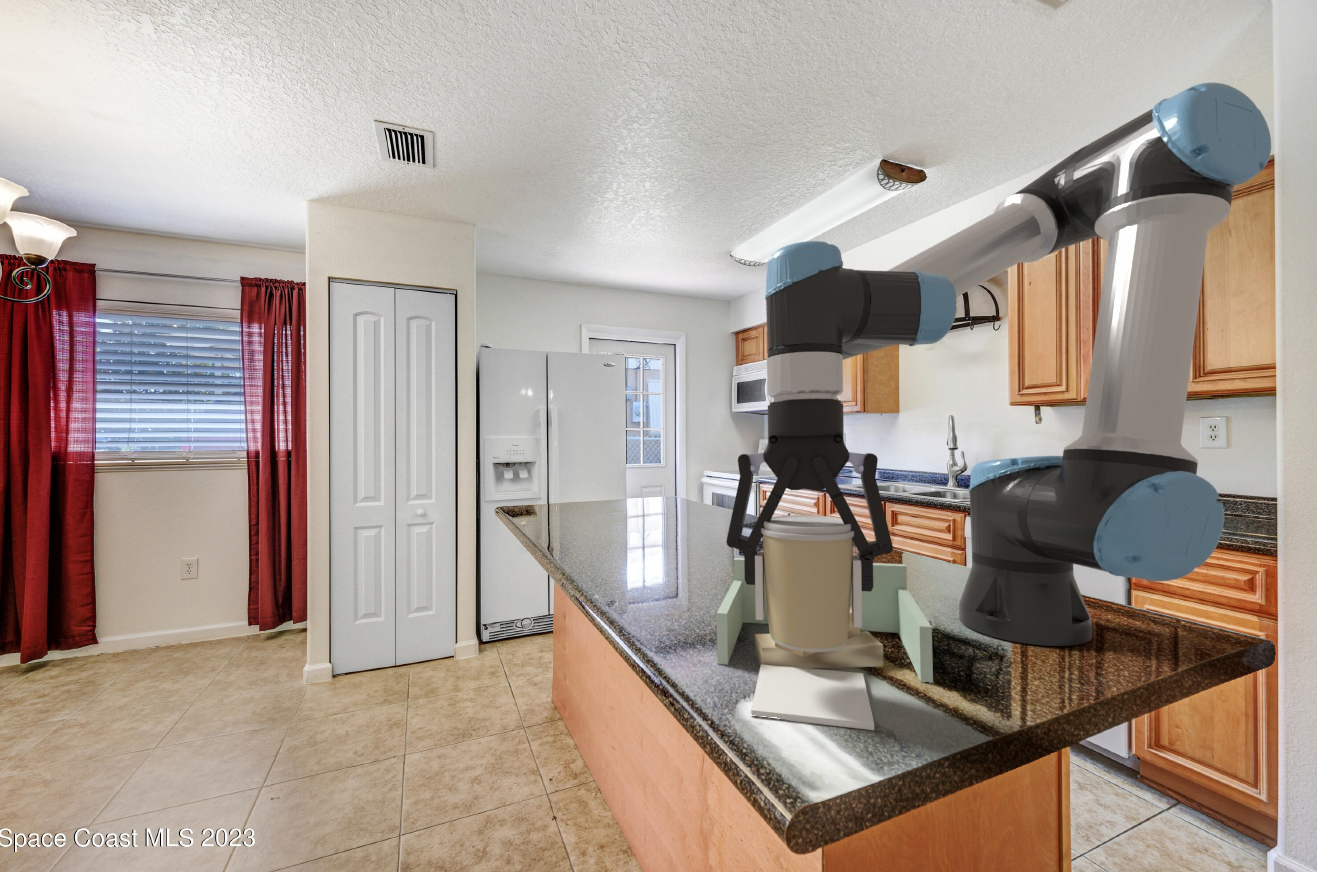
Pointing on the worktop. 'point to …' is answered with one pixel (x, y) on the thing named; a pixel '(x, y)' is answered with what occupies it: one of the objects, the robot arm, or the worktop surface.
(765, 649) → the birch offcut
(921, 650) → the screen
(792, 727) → the worktop surface
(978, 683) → the worktop surface
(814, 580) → the coffee cup
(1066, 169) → the robot arm
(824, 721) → the white square tile
